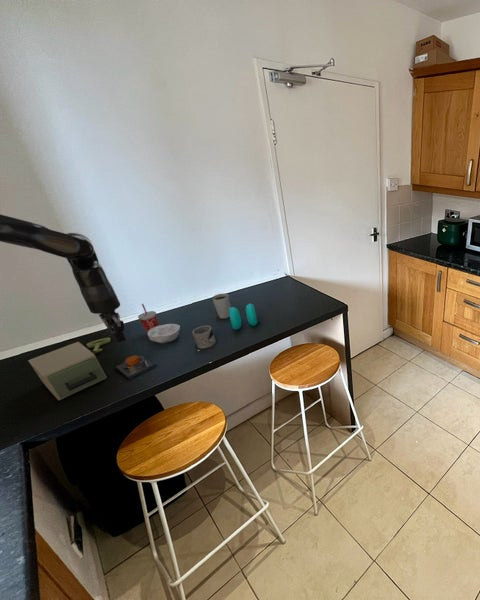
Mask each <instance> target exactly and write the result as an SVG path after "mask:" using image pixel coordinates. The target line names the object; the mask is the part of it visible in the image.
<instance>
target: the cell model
mask: <svg viewBox="0 0 480 600" xmlns="http://www.w3.org/2000/svg"><path fill="white" fill-rule="evenodd" d="M180 327H181V326H180V324H176V323H166V324H161V325H160V324H159V326H157V327H154V328H152V329H151V330H149V331H148V333H147V336H148V339H149V340H150V341H152V342H154V343H155V342H156V343H158V344H166V343H170V342H173V341H175V340H176V339H178V336H179V334H180Z"/></svg>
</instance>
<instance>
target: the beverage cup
mask: <svg viewBox="0 0 480 600" xmlns="http://www.w3.org/2000/svg"><path fill="white" fill-rule="evenodd" d="M141 306H142V308H143V310H144V312H142V313H140V314H138V316H137V318H138V320H140V322H141V325H142V326H143V328H144V330H145V332H146V333H147V334H148V331H149V330H151V329H152V328H154V327H157V326H160V324H159V320H158V316H157V313H156V311H154V310H150V311H147V309H146V307H145V305H144V303H141Z"/></svg>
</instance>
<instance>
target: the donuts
mask: <svg viewBox="0 0 480 600" xmlns="http://www.w3.org/2000/svg"><path fill="white" fill-rule="evenodd" d="M245 313H246V318H247V321H248V322H247V323H248V324H249V325H250V326H253V327H255V326H257V325H258V324H259V323H258V322H259V321H258V317H257V312H256V307H255V305H254V304H253V303H248V304H247V305H246V306H245ZM229 316H230V317H229V321H230V324H231V327H232V329H234V330H240V329H241V327H242V318H241V314H240V310H239V309H237V308H236V307H234V306H231V308H230V309H229Z"/></svg>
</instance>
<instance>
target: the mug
mask: <svg viewBox="0 0 480 600" xmlns="http://www.w3.org/2000/svg"><path fill="white" fill-rule="evenodd" d="M191 333H192V336H193V339H194V341H195V344H196V347H197V348H198V349H201V350H202V349H208V348H211V347H213V346H214V345H215V344H216V343H217V341H216V338H215V334H214V332H213V329H212V326H210V325H205V324H203V325H201V326H198V327H195V328H194V329H193V330H192V332H191Z"/></svg>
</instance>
